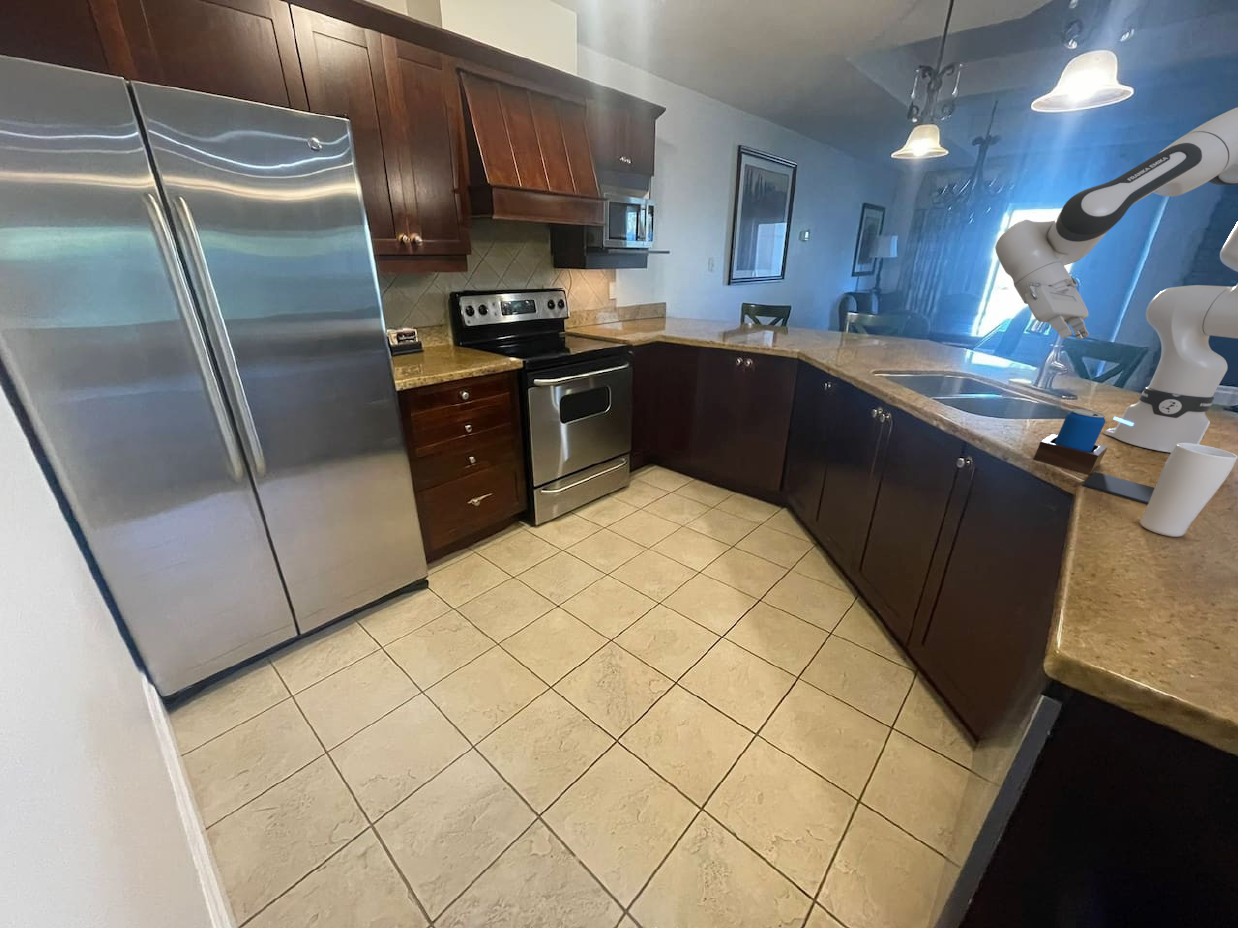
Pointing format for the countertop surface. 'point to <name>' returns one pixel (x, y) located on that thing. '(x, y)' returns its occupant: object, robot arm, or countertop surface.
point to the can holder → (1069, 455)
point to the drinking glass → (1186, 487)
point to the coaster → (1119, 487)
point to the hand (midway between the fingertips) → (1076, 336)
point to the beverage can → (1081, 429)
